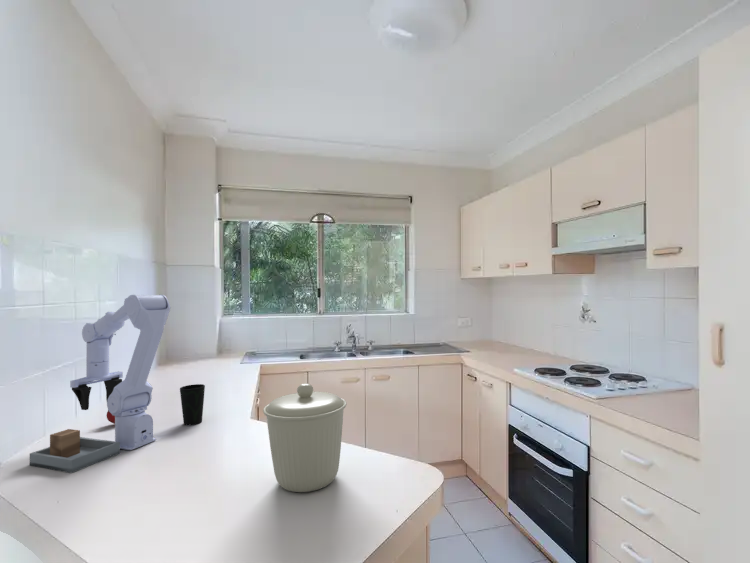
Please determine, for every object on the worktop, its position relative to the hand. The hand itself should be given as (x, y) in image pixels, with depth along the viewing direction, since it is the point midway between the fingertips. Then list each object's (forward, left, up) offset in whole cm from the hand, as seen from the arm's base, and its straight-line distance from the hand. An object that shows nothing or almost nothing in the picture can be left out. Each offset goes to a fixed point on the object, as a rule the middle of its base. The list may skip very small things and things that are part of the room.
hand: (97, 406), depth 116 cm
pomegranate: (+6, -10, -10) cm, 16 cm away
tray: (-12, +14, -9) cm, 20 cm away
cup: (-19, -18, -10) cm, 28 cm away
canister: (-78, +8, -10) cm, 79 cm away
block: (-8, +14, -9) cm, 18 cm away
